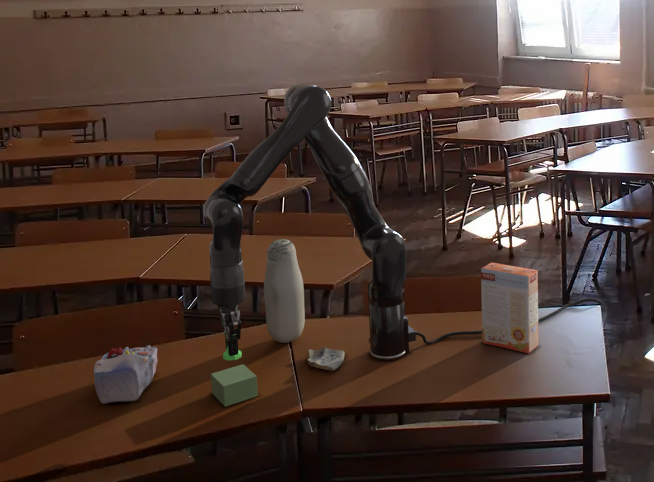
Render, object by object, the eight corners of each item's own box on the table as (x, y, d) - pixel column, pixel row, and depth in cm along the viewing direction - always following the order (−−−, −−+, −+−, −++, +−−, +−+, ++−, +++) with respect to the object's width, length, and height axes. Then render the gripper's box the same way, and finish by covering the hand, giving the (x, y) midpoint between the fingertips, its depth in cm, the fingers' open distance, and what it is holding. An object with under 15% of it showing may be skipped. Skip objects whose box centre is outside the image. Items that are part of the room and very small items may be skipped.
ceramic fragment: (309, 346, 216) (346, 343, 214) (312, 357, 216) (348, 355, 214) (294, 364, 205) (332, 362, 203) (297, 376, 206) (335, 373, 204)
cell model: (87, 367, 186) (101, 333, 205) (91, 412, 188) (105, 374, 207) (148, 358, 189) (156, 326, 208) (152, 403, 191) (160, 367, 210)
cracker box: (539, 346, 217) (538, 269, 213) (528, 354, 212) (528, 276, 208) (492, 335, 224) (491, 260, 221) (481, 343, 219) (480, 267, 216)
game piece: (244, 357, 192) (242, 333, 191) (225, 362, 190) (224, 337, 189) (238, 350, 196) (237, 326, 195) (220, 355, 194) (218, 331, 193)
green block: (244, 383, 200) (243, 364, 199) (258, 396, 193) (256, 376, 193) (212, 393, 195) (210, 373, 194) (225, 406, 189) (223, 386, 188)
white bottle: (272, 332, 229) (266, 235, 224) (309, 332, 229) (304, 234, 224) (263, 348, 219) (256, 246, 215) (301, 348, 219) (295, 245, 214)
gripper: (250, 287, 185) (255, 360, 188) (237, 269, 198) (241, 338, 200) (216, 293, 182) (221, 368, 185) (205, 275, 194) (210, 344, 197)
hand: (232, 352), depth 193 cm, fingers closed on game piece, 2 cm apart
